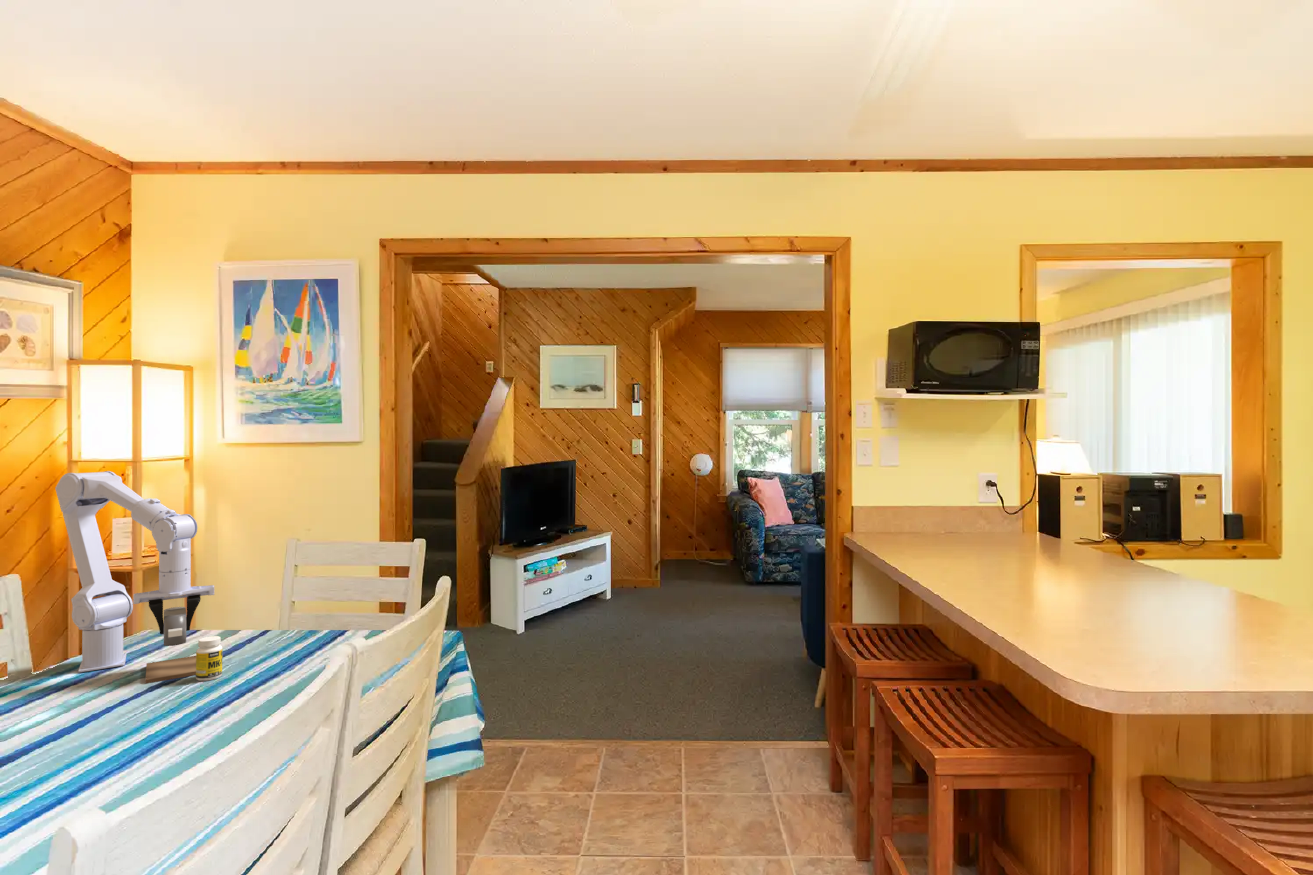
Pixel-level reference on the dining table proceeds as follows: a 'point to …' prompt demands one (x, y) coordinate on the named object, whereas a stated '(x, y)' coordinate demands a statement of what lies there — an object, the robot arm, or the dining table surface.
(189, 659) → the walnut board
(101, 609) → the robot arm
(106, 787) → the dining table surface
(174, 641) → the grey rounded piece
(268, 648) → the dining table surface
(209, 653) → the supplement bottle
